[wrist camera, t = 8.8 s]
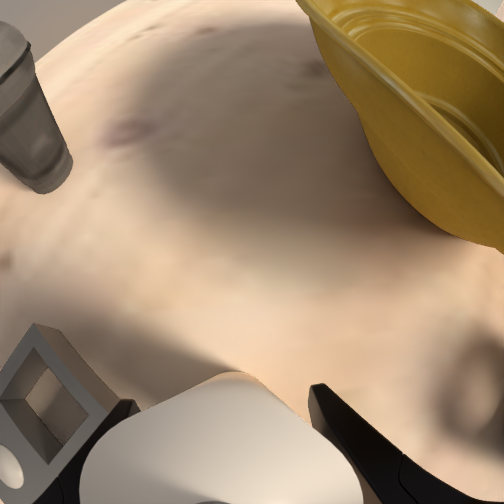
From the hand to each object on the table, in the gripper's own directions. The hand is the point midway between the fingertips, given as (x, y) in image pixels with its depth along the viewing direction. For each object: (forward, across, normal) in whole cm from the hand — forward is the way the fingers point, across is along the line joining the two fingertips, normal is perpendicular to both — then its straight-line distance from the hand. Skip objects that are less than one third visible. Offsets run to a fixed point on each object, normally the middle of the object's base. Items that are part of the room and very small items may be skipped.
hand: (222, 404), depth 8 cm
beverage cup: (+18, +14, -6) cm, 24 cm away
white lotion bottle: (+6, 0, +8) cm, 9 cm away
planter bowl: (+17, -20, -4) cm, 27 cm away
